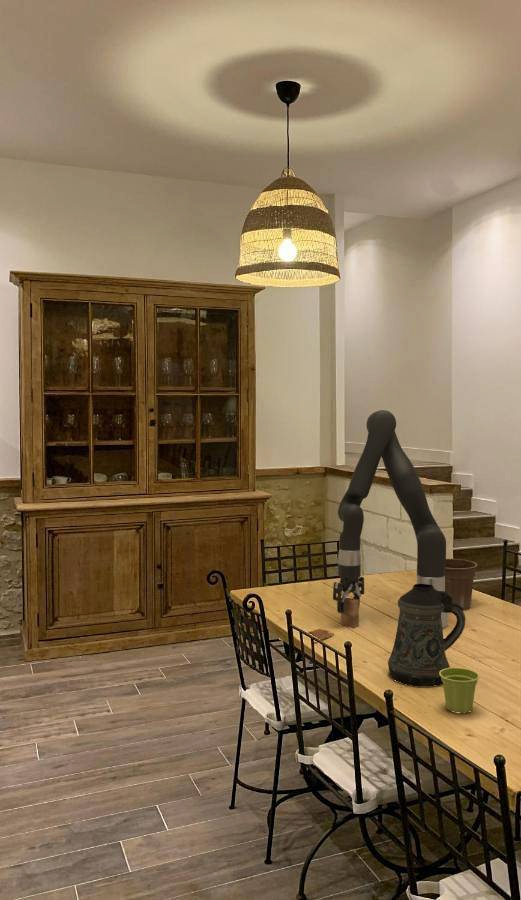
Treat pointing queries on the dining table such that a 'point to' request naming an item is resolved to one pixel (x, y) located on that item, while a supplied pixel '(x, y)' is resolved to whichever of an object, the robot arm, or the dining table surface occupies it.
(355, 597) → the robot arm
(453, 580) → the plant pot
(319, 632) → the shard
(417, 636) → the beer stein
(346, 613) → the walnut slab
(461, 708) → the plant pot
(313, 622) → the dining table surface
